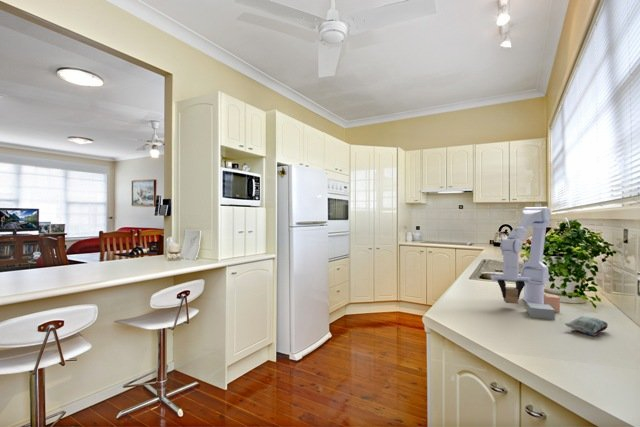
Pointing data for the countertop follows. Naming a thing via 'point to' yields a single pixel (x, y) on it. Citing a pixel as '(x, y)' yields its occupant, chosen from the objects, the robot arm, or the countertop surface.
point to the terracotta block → (552, 302)
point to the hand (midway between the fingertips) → (510, 298)
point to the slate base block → (540, 311)
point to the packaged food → (588, 325)
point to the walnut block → (511, 295)
